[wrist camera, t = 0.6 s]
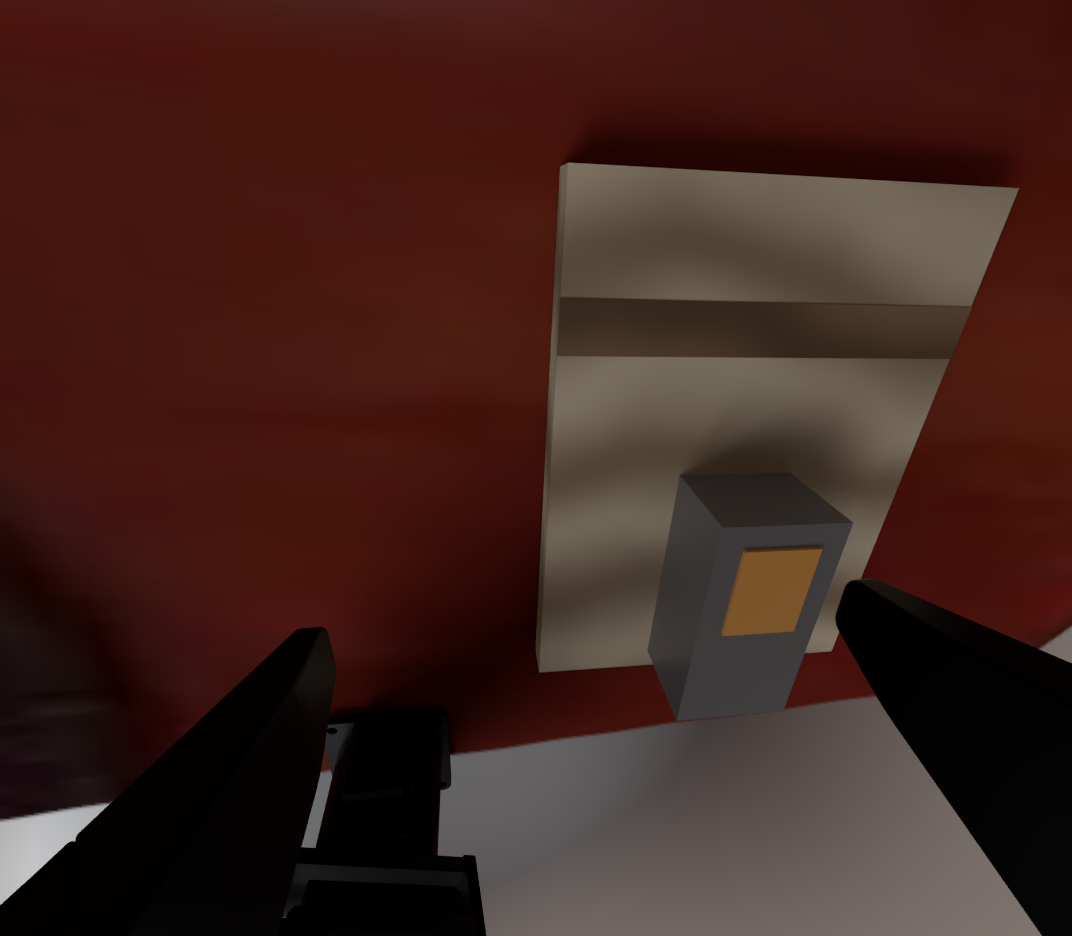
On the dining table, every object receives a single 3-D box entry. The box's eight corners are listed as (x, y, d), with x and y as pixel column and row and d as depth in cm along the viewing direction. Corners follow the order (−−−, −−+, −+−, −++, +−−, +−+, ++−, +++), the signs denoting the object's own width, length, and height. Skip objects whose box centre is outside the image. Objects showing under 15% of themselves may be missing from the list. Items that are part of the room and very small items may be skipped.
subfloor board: (814, 631, 29) (831, 651, 27) (535, 649, 27) (539, 673, 25) (980, 190, 19) (1020, 188, 18) (559, 166, 17) (568, 162, 16)
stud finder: (740, 644, 26) (784, 714, 22) (647, 650, 26) (677, 723, 22) (790, 472, 22) (856, 525, 18) (679, 475, 21) (724, 530, 17)
